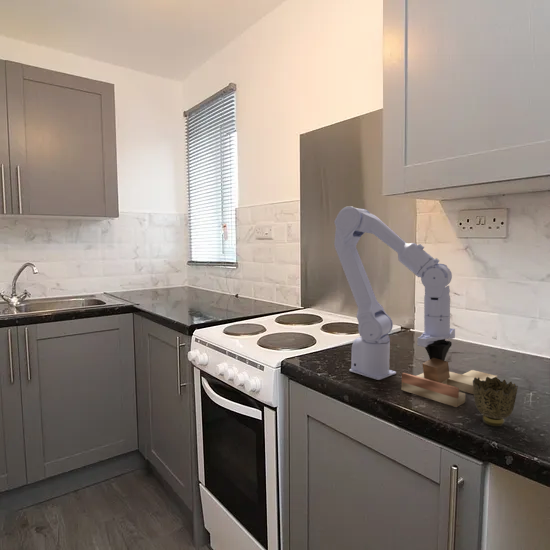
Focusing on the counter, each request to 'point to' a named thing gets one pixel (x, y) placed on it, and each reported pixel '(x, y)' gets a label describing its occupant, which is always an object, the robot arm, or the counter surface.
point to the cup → (494, 399)
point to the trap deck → (443, 386)
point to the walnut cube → (436, 370)
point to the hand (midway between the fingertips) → (436, 370)
